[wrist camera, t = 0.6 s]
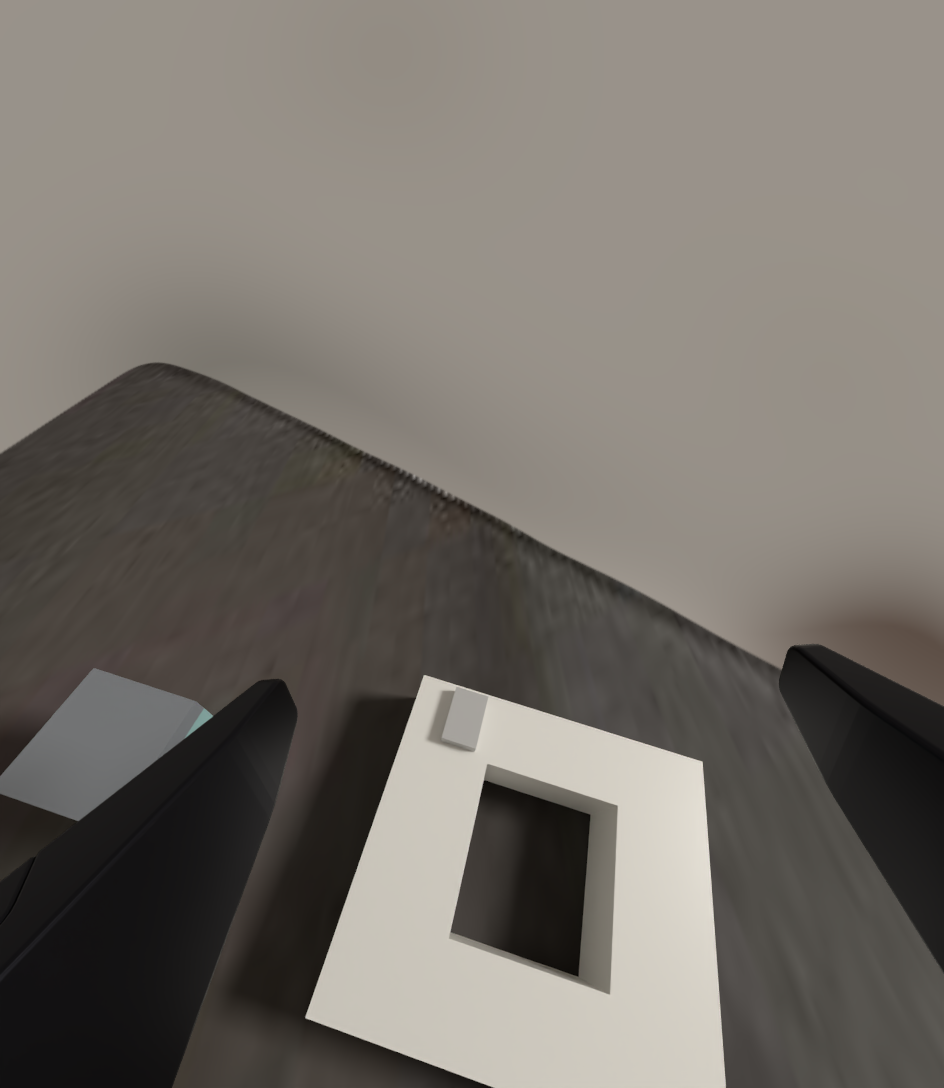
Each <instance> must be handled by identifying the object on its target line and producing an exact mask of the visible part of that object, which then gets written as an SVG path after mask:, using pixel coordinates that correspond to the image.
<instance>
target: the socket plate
mask: <svg viewBox="0 0 944 1088" xmlns="http://www.w3.org/2000/svg"><path fill="white" fill-rule="evenodd" d="M484 780H485V781H488V782H492V783H495V784H498V785H501V786H504V787H507V788H510V789H513V790H516V791H519V792H522V793H525V794H528V795H532V796H535V797H538V798H541V799H544V800H547V801H550V802H553V803H556V804H559V805H562V806H565V807H568V808H572V809H575V810H578V811H581V812H584V813H587V814H590V815H591V816H590V829H589V843H588V856H587V869H586V883H585V896H584V909H583V923H582V936H581V949H580V963H579V976H578V977H577V976H575V975H572V974H569V973H566V972H563V971H560V970H557V969H554V968H552V967H549V966H546V965H543V964H540V963H537V962H534V961H532V960H529V959H526V958H523V957H520V956H517V955H514V954H511V953H509V952H506V951H503V950H500V949H497V948H494V947H491V946H489V945H486V944H483V943H480V942H477V941H474V940H471V939H468V938H466V937H463V936H460V935H457V934H454V933H451V932H450V931H451V926H452V922H453V917H454V913H455V908H456V904H457V899H458V894H459V890H460V885H461V881H462V876H463V872H464V867H465V863H466V858H467V854H468V849H469V845H470V840H471V835H472V831H473V826H474V822H475V817H476V813H477V808H478V804H479V799H480V795H481V790H482V785H483V781H484ZM305 1018H306V1019H309V1020H312V1021H315V1022H317V1023H320V1024H323V1025H325V1026H328V1027H331V1028H334V1029H336V1030H339V1031H342V1032H344V1033H347V1034H350V1035H353V1036H355V1037H358V1038H361V1039H363V1040H366V1041H369V1042H372V1043H374V1044H377V1045H380V1046H382V1047H385V1048H388V1049H390V1050H393V1051H396V1052H399V1053H401V1054H404V1055H407V1056H409V1057H412V1058H415V1059H418V1060H420V1061H423V1062H426V1063H428V1064H431V1065H434V1066H437V1067H439V1068H442V1069H445V1070H447V1071H450V1072H453V1073H456V1074H458V1075H461V1076H464V1077H466V1078H469V1079H472V1080H474V1081H477V1082H480V1083H483V1084H485V1085H488V1086H491V1087H493V1088H726V1083H725V1069H724V1055H723V1041H722V1027H721V1013H720V999H719V985H718V971H717V957H716V944H715V930H714V916H713V902H712V888H711V874H710V860H709V846H708V832H707V818H706V804H705V790H704V776H703V762H701V761H698V760H695V759H692V758H688V757H685V756H682V755H679V754H676V753H672V752H669V751H666V750H663V749H660V748H656V747H653V746H650V745H647V744H644V743H640V742H637V741H634V740H631V739H628V738H624V737H621V736H618V735H615V734H612V733H608V732H605V731H602V730H599V729H596V728H592V727H589V726H586V725H583V724H580V723H576V722H573V721H570V720H567V719H564V718H560V717H557V716H554V715H551V714H548V713H544V712H541V711H538V710H535V709H532V708H528V707H525V706H522V705H519V704H516V703H512V702H509V701H506V700H503V699H500V698H496V697H493V696H490V695H487V694H484V693H480V692H477V691H474V690H471V689H468V688H464V687H461V686H458V685H455V684H452V683H448V682H445V681H442V680H439V679H436V678H432V677H429V676H426V675H424V677H423V680H422V683H421V686H420V689H419V692H418V694H417V697H416V700H415V703H414V706H413V709H412V712H411V715H410V717H409V720H408V723H407V726H406V729H405V732H404V735H403V738H402V741H401V743H400V746H399V749H398V752H397V755H396V758H395V761H394V764H393V766H392V769H391V772H390V775H389V778H388V781H387V784H386V787H385V789H384V792H383V795H382V798H381V801H380V804H379V807H378V810H377V812H376V815H375V818H374V821H373V824H372V827H371V830H370V833H369V836H368V838H367V841H366V844H365V847H364V850H363V853H362V856H361V859H360V861H359V864H358V867H357V870H356V873H355V876H354V879H353V882H352V884H351V887H350V890H349V893H348V896H347V899H346V902H345V905H344V907H343V910H342V913H341V916H340V919H339V922H338V925H337V928H336V931H335V933H334V936H333V939H332V942H331V945H330V948H329V951H328V954H327V956H326V959H325V962H324V965H323V968H322V971H321V974H320V977H319V979H318V982H317V985H316V988H315V991H314V994H313V997H312V1000H311V1002H310V1005H309V1008H308V1011H307V1014H306V1017H305Z"/></svg>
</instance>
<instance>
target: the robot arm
mask: <svg viewBox="0 0 944 1088" xmlns="http://www.w3.org/2000/svg"><path fill="white" fill-rule="evenodd" d="M779 688H780V692H781V694H782V697H783V699H784V701H785V703H786V705H787V707H788V709H789V711H790V713H791V715H792V717H793V719H794V721H795V723H796V725H797V727H798V729H799V731H800V733H801V735H802V737H803V739H804V741H805V743H806V745H807V747H808V749H809V751H810V753H811V755H812V757H813V759H814V761H815V763H816V765H817V767H818V769H819V771H820V773H821V775H822V777H823V779H824V781H825V783H826V784H827V786H828V788H829V789H830V791H831V793H832V795H833V796H834V798H835V800H836V801H837V803H838V804H839V806H840V808H841V809H842V811H843V812H844V814H845V816H846V817H847V819H848V821H849V822H850V824H851V825H852V827H853V829H854V830H855V832H856V833H857V835H858V837H859V838H860V840H861V841H862V843H863V845H864V846H865V848H866V850H867V851H868V853H869V854H870V856H871V858H872V859H873V861H874V862H875V864H876V866H877V867H878V869H879V870H880V872H881V874H882V875H883V877H884V879H885V880H886V882H887V883H888V885H889V887H890V888H891V890H892V891H893V893H894V895H895V896H896V898H897V899H898V901H899V903H900V904H901V906H902V907H903V909H904V911H905V912H906V914H907V916H908V917H909V919H910V920H911V922H912V924H913V925H914V927H915V928H916V930H917V932H918V933H919V935H920V936H921V938H922V940H923V941H924V943H925V945H926V946H927V948H928V949H929V951H930V953H931V954H932V956H933V957H934V959H935V961H936V962H937V964H938V965H939V967H940V969H941V970H942V972H943V974H944V706H942V705H940V704H938V703H936V702H934V701H932V700H930V699H928V698H926V697H924V696H922V695H920V694H918V693H916V692H914V691H912V690H910V689H908V688H906V687H904V686H902V685H900V684H898V683H896V682H894V681H892V680H890V679H888V678H886V677H884V676H882V675H880V674H878V673H876V672H874V671H872V670H870V669H868V668H866V667H864V666H862V665H860V664H858V663H856V662H854V661H852V660H850V659H848V658H846V657H844V656H842V655H840V654H838V653H836V652H834V651H832V650H830V649H828V648H826V647H824V646H822V645H819V644H806V645H794V646H792V647H790V648H789V650H788V651H787V654H786V658H785V661H784V665H783V668H782V672H781V675H780V679H779ZM297 717H298V716H297V708H296V706H295V703H294V701H293V699H292V697H291V695H290V692H289V690H288V688H287V686H286V684H285V682H284V681H282V680H281V679H269V680H261V681H258V682H257V683H255V684H254V685H253V686H251V687H250V688H249V689H248V690H246V691H245V692H244V693H242V694H241V695H240V696H239V697H237V698H236V699H235V700H233V701H232V702H231V703H230V704H228V705H227V706H226V707H224V708H223V709H222V710H221V711H219V712H218V713H217V714H215V715H214V716H213V717H212V718H210V719H209V720H208V721H206V722H205V723H204V724H203V725H201V726H200V727H199V728H197V729H196V730H195V731H194V732H192V733H191V734H190V735H188V736H187V737H186V738H185V739H183V740H182V741H181V742H179V743H178V744H177V745H176V746H174V747H173V748H172V749H170V750H169V751H168V752H167V753H165V754H164V755H163V756H161V757H160V758H159V759H158V760H156V761H155V762H154V763H152V764H151V765H150V766H149V767H147V768H146V769H145V770H143V771H142V772H141V773H140V774H138V775H137V776H136V777H134V778H133V779H132V780H131V781H129V782H128V783H127V784H125V785H124V786H123V787H122V788H120V789H119V790H118V791H116V792H115V793H114V794H113V795H111V796H110V797H109V798H107V799H106V800H105V801H104V802H102V803H101V804H100V805H98V806H97V807H96V808H95V809H93V810H92V811H91V812H89V813H88V814H87V815H86V816H84V817H83V818H82V819H80V820H79V821H78V822H77V823H75V824H74V825H73V826H71V827H70V828H69V829H68V830H66V831H65V832H64V833H62V834H61V835H60V836H59V837H57V838H56V839H55V840H53V841H52V842H51V843H49V844H48V845H47V846H46V847H44V848H43V849H42V850H40V851H39V852H38V854H37V856H36V857H32V858H30V859H29V860H27V861H26V862H25V863H24V864H22V865H21V866H20V867H19V868H17V869H16V870H15V871H13V872H12V873H11V874H10V875H8V876H7V877H6V878H4V879H3V880H2V881H1V882H0V1088H172V1086H173V1083H174V1080H175V1078H176V1075H177V1072H178V1070H179V1067H180V1064H181V1061H182V1059H183V1056H184V1053H185V1050H186V1048H187V1045H188V1042H189V1039H190V1037H191V1034H192V1031H193V1028H194V1026H195V1023H196V1020H197V1017H198V1015H199V1012H200V1009H201V1007H202V1004H203V1001H204V998H205V996H206V993H207V990H208V987H209V985H210V982H211V979H212V976H213V974H214V971H215V968H216V965H217V963H218V960H219V957H220V954H221V952H222V949H223V946H224V944H225V941H226V938H227V935H228V933H229V930H230V927H231V924H232V922H233V919H234V916H235V913H236V911H237V908H238V905H239V902H240V900H241V897H242V894H243V891H244V889H245V886H246V883H247V881H248V878H249V875H250V872H251V870H252V867H253V864H254V861H255V859H256V856H257V853H258V850H259V848H260V845H261V842H262V839H263V837H264V834H265V831H266V828H267V826H268V823H269V820H270V817H271V814H272V812H273V809H274V806H275V803H276V799H277V796H278V792H279V789H280V785H281V781H282V777H283V773H284V769H285V766H286V762H287V758H288V754H289V750H290V746H291V743H292V739H293V735H294V731H295V727H296V723H297Z"/></svg>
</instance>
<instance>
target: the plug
mask: <svg viewBox="0 0 944 1088" xmlns="http://www.w3.org/2000/svg"><path fill="white" fill-rule="evenodd" d="M212 717H213V715H211V714H210V713H209V712H208V711H207V710H205V709H204V708H203V707H202V706H201V705H200V704H198V703H197V702H196V701H193V700H190V699H187V698H184V697H181V696H178V695H175V694H172V693H169V692H166V691H163V690H160V689H157V688H153V687H150V686H147V685H144V684H141V683H138V682H135V681H132V680H129V679H126V678H123V677H120V676H117V675H114V674H111V673H108V672H105V671H102V670H98V669H95V668H93V670H92V671H91V672H90V673H89V674H88V675H87V677H86V678H85V679H84V680H83V681H82V682H81V683H80V685H79V686H78V687H77V688H76V689H75V690H74V692H73V693H72V694H71V695H70V696H69V697H68V699H67V700H66V701H65V702H64V703H63V704H62V705H61V707H60V708H59V709H58V710H57V711H56V712H55V714H54V715H53V716H52V717H51V718H50V719H49V720H48V722H47V723H46V724H45V725H44V726H43V727H42V729H41V730H40V731H39V732H38V733H37V734H36V735H35V737H34V738H33V739H32V740H31V741H30V742H29V744H28V745H27V746H26V747H25V748H24V749H23V751H22V752H21V753H20V754H19V755H18V756H17V757H16V759H15V760H14V761H13V762H12V763H11V764H10V766H9V767H8V768H7V769H6V770H5V771H4V772H3V774H2V775H1V776H0V794H2V795H5V796H8V797H11V798H14V799H17V800H19V801H22V802H25V803H28V804H31V805H34V806H36V807H39V808H42V809H45V810H48V811H51V812H54V813H56V814H59V815H62V816H65V817H68V818H71V819H73V820H76V821H79V820H80V819H82V818H83V817H84V816H86V815H87V814H88V813H89V812H91V811H92V810H93V809H95V808H96V807H97V806H98V805H100V804H101V803H102V802H104V801H105V800H106V799H107V798H109V797H110V796H111V795H113V794H114V793H115V792H116V791H118V790H119V789H120V788H122V787H123V786H124V785H125V784H127V783H128V782H129V781H131V780H132V779H133V778H134V777H136V776H137V775H138V774H140V773H141V772H142V771H143V770H145V769H146V768H147V767H149V766H150V765H151V764H152V763H154V762H155V761H156V760H158V759H159V758H160V757H161V756H163V755H164V754H165V753H167V752H168V751H169V750H170V749H172V748H173V747H174V746H176V745H177V744H178V743H179V742H181V741H182V740H183V739H185V738H186V737H187V736H188V735H190V734H191V733H192V732H194V731H195V730H196V729H197V728H199V727H200V726H201V725H203V724H204V723H205V722H206V721H208V720H209V719H210V718H212Z"/></svg>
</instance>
